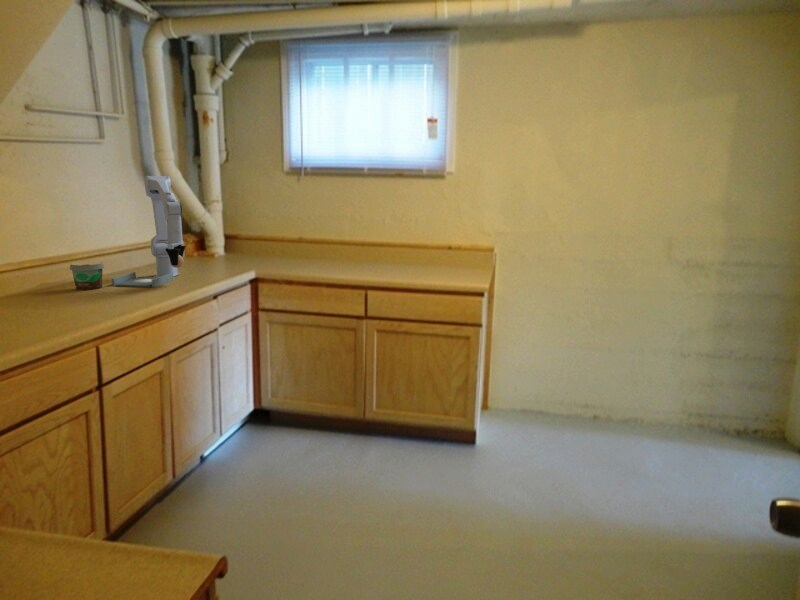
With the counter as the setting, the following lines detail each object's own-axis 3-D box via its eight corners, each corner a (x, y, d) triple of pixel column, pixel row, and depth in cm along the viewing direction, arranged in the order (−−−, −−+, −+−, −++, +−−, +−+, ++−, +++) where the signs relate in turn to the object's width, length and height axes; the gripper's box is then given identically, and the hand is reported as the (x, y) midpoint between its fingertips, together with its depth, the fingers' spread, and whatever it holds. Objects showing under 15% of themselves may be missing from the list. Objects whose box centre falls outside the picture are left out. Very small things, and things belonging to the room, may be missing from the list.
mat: (139, 278, 253) (139, 276, 253) (170, 279, 251) (169, 277, 251) (115, 286, 235) (115, 284, 235) (148, 287, 234) (148, 285, 234)
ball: (174, 266, 243) (173, 253, 242) (186, 266, 243) (185, 253, 242) (167, 268, 238) (166, 255, 237) (180, 268, 238) (179, 255, 236)
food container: (68, 291, 225) (65, 266, 223) (72, 288, 231) (69, 263, 228) (102, 290, 228) (100, 265, 226) (106, 287, 234) (103, 262, 232)
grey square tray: (133, 278, 252) (133, 272, 251) (173, 280, 250) (172, 273, 250) (112, 285, 237) (111, 278, 236) (154, 287, 235) (153, 279, 234)
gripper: (169, 229, 244) (172, 261, 247) (158, 233, 230) (161, 267, 233) (187, 229, 245) (189, 261, 247) (177, 233, 230) (179, 267, 233)
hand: (176, 264), depth 240 cm, fingers closed on ball, 5 cm apart
